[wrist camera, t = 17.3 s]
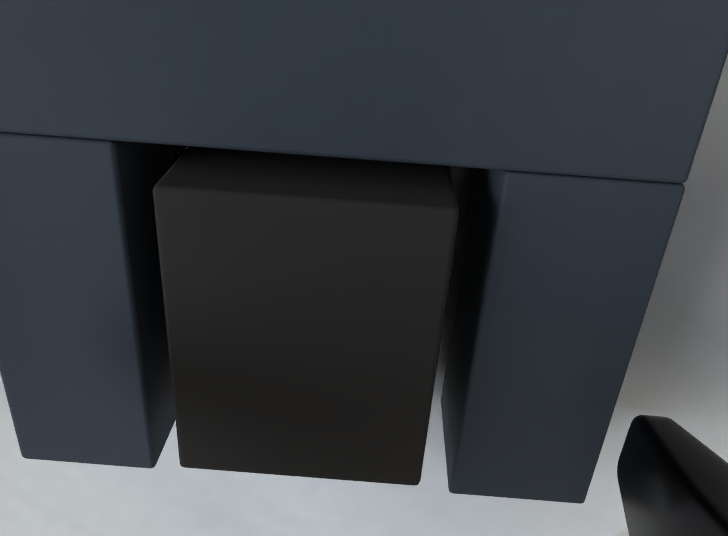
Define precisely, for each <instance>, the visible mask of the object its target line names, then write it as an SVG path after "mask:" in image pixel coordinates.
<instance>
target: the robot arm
mask: <svg viewBox="0 0 728 536" xmlns="http://www.w3.org/2000/svg"><path fill="white" fill-rule="evenodd" d="M617 475H618V482H619V487H620V492H621V497H622V502H623V507H624V512H625V517H626V522H627V527H628V532H629V536H728V463H727V462H726V461H724V460H723V459H722V458H721V457H719V456H718V455H717V454H715V453H714V452H713V451H712V450H710V449H709V448H708V447H707V446H705V445H704V444H703V443H701V442H700V441H699V440H698V439H696V438H695V437H694V436H692V435H691V434H690V433H689V432H687V431H686V430H685V429H684V428H682V427H681V426H680V425H678V424H677V423H676V422H675V421H673V420H672V419H670V418H667V417H661V416H648V415H639V416H637V417H635V418H634V419H633V421H632V423H631V425H630V428H629V431H628V434H627V437H626V440H625V443H624V446H623V448H622V451H621V454H620V457H619V461H618V466H617Z"/></svg>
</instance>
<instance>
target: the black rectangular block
mask: <svg viewBox="0 0 728 536" xmlns="http://www.w3.org/2000/svg"><path fill="white" fill-rule="evenodd" d="M153 198H154V208H155V218H156V228H157V238H158V248H159V258H160V268H161V278H162V288H163V298H164V308H165V318H166V328H167V338H168V348H169V358H170V368H171V378H172V388H173V398H174V408H175V418H176V428H177V438H178V448H179V458H180V465H181V466H182V467H186V468H199V469H212V470H225V471H237V472H250V473H263V474H275V475H288V476H301V477H314V478H326V479H339V480H352V481H365V482H377V483H390V484H403V485H418V484H419V482H420V479H421V472H422V465H423V458H424V451H425V445H426V438H427V431H428V424H429V417H430V410H431V403H432V397H433V390H434V383H435V376H436V369H437V362H438V355H439V348H440V342H441V335H442V328H443V321H444V314H445V307H446V300H447V294H448V287H449V280H450V273H451V266H452V259H453V252H454V245H455V239H456V232H457V225H458V218H459V210H458V206H457V201H456V196H455V191H454V187H453V182H452V177H451V173H450V168H449V166H443V165H430V164H417V163H404V162H390V161H377V160H364V159H351V158H338V157H324V156H311V155H298V154H285V153H272V152H258V151H245V150H232V149H219V148H206V147H192V146H189V147H188V149H187V150H186V151H185V152H184V153H183V154H182V155H181V156H180V158H179V159H178V160H177V161H176V162H175V163H174V164H173V165H172V167H171V168H170V169H169V170H168V171H167V172H166V173H165V175H164V176H163V177H162V178H161V179H160V180H159V181H158V182H157V184H156V185H155V186H154V188H153Z"/></svg>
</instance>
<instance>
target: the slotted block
mask: <svg viewBox="0 0 728 536" xmlns="http://www.w3.org/2000/svg"><path fill="white" fill-rule="evenodd" d="M727 54H728V0H0V372H1V376H2V380H3V384H4V388H5V392H6V396H7V400H8V403H9V407H10V411H11V415H12V419H13V423H14V427H15V431H16V435H17V438H18V442H19V446H20V450H21V454H22V456H23V457H24V458H28V459H41V460H53V461H66V462H78V463H91V464H103V465H115V466H128V467H140V468H154V467H155V465H156V463H157V461H158V458H159V456H160V454H161V452H162V449H163V447H164V445H165V442H166V440H167V438H168V436H169V433H170V431H171V429H172V426H173V424H174V422H175V420H176V418H175V408H174V398H173V388H172V378H171V368H170V358H169V348H168V338H167V328H166V318H165V308H164V298H163V288H162V278H161V268H160V258H159V248H158V238H157V228H156V218H155V208H154V198H153V188H154V186H155V185H156V184H157V182H158V181H159V180H160V179H161V178H162V177H163V176H164V175H165V173H166V172H167V171H168V170H169V169H170V168H171V167H172V165H173V164H174V163H175V157H174V145H179V146H192V147H206V148H219V149H232V150H245V151H258V152H272V153H285V154H298V155H311V156H324V157H338V158H351V159H364V160H377V161H390V162H404V163H417V164H430V165H443V166H456V167H470V168H477V170H476V177H475V183H474V190H473V196H472V203H471V209H470V216H469V222H468V228H467V235H466V241H465V248H464V254H463V261H462V267H461V274H460V280H459V287H458V293H457V300H456V306H455V312H454V319H453V325H452V332H451V338H450V345H449V351H448V358H447V364H446V371H445V377H444V384H443V390H442V397H441V408H442V419H443V430H444V441H445V453H446V464H447V475H448V486H449V491H450V492H451V493H457V494H469V495H482V496H494V497H507V498H519V499H532V500H544V501H557V502H569V503H583V502H584V501H585V498H586V495H587V492H588V488H589V485H590V482H591V479H592V476H593V473H594V470H595V467H596V464H597V461H598V457H599V454H600V451H601V448H602V445H603V442H604V439H605V436H606V433H607V429H608V426H609V423H610V420H611V417H612V414H613V411H614V408H615V405H616V402H617V398H618V395H619V392H620V389H621V386H622V383H623V380H624V377H625V374H626V370H627V367H628V364H629V361H630V358H631V355H632V352H633V349H634V346H635V343H636V339H637V336H638V333H639V330H640V327H641V324H642V321H643V318H644V315H645V311H646V308H647V305H648V302H649V299H650V296H651V293H652V290H653V287H654V284H655V280H656V277H657V274H658V271H659V268H660V265H661V262H662V259H663V256H664V252H665V249H666V246H667V243H668V240H669V237H670V234H671V231H672V228H673V224H674V221H675V218H676V215H677V212H678V209H679V206H680V203H681V200H682V197H683V193H684V190H685V188H684V185H683V184H682V183H684V182H685V181H686V180H687V178H688V175H689V172H690V169H691V166H692V163H693V160H694V157H695V153H696V150H697V147H698V144H699V141H700V138H701V135H702V132H703V129H704V125H705V122H706V119H707V116H708V113H709V110H710V107H711V104H712V101H713V97H714V94H715V91H716V88H717V85H718V82H719V79H720V76H721V73H722V69H723V66H724V63H725V60H726V57H727Z"/></svg>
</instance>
